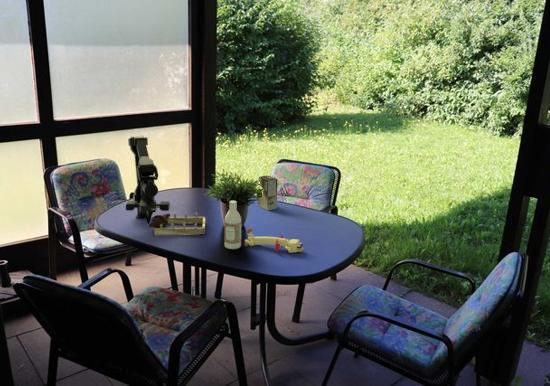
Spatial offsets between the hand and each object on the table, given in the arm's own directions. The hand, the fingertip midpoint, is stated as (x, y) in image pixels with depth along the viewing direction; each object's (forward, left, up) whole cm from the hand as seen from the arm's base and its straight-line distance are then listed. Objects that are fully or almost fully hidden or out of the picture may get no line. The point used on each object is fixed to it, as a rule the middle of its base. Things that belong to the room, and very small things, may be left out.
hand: (148, 223), depth 221 cm
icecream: (-1, +5, -3) cm, 5 cm away
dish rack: (-1, +14, -3) cm, 15 cm away
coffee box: (-30, +57, -3) cm, 65 cm away
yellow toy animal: (+23, +55, -3) cm, 60 cm away
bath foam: (+20, +37, -3) cm, 43 cm away
